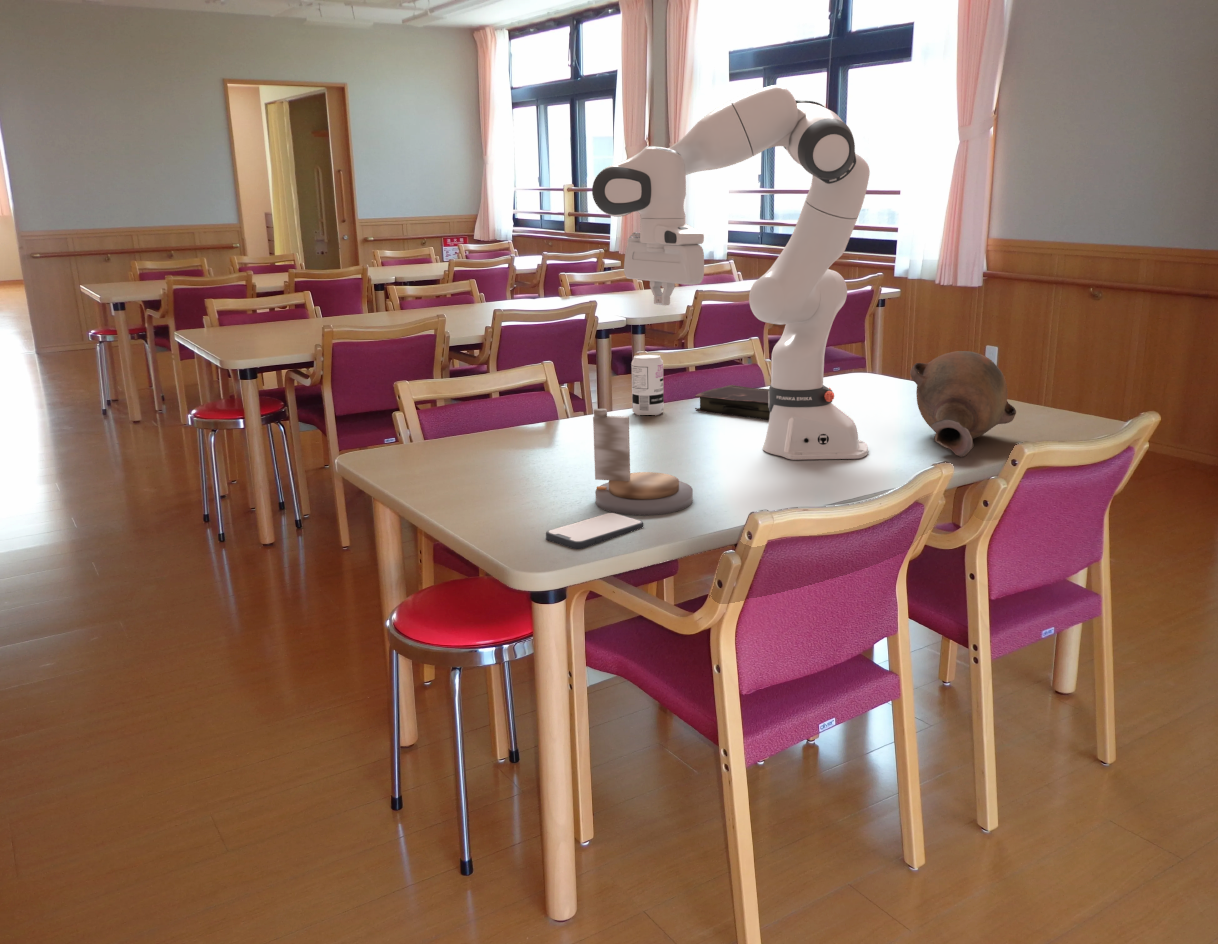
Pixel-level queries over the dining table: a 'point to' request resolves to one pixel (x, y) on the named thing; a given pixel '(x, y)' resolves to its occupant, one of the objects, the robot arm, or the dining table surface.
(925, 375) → the jug
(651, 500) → the dial base
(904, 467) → the dining table surface
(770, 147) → the robot arm
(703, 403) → the diary
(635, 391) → the supplement can
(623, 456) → the dial
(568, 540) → the smartphone
